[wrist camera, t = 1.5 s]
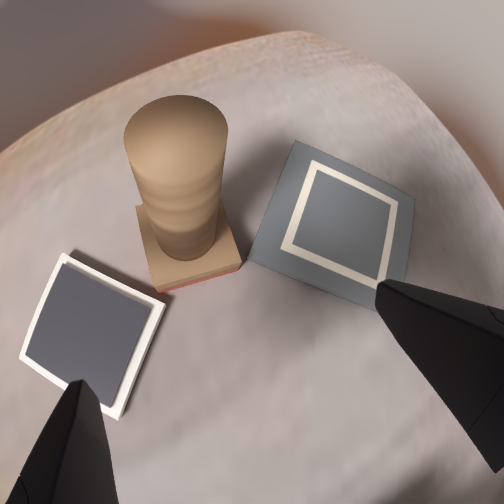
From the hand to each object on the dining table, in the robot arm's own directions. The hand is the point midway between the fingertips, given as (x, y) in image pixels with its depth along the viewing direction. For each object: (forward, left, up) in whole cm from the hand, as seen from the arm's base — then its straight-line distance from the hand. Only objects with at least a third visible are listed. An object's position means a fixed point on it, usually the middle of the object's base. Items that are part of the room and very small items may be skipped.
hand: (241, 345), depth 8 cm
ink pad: (+9, +3, -13) cm, 17 cm away
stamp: (+5, -6, -13) cm, 16 cm away
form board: (-6, -13, -13) cm, 20 cm away
